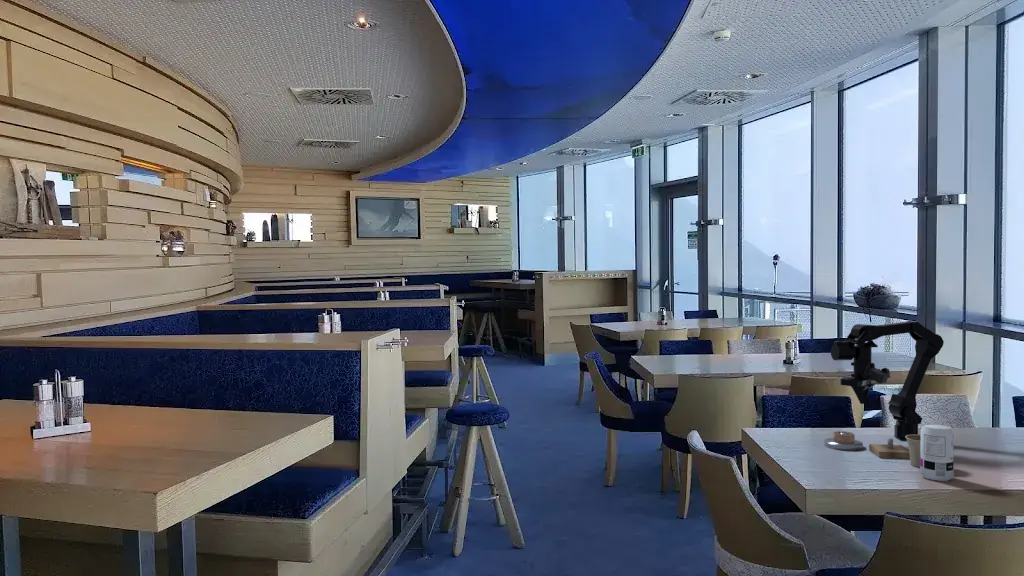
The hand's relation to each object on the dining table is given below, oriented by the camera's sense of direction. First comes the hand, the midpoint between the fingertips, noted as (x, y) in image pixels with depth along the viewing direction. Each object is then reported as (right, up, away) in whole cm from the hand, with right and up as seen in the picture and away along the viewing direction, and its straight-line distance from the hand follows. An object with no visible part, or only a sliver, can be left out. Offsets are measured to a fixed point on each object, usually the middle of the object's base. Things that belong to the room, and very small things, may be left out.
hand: (862, 403), depth 251 cm
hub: (-10, -13, -8) cm, 19 cm away
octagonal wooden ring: (-10, -12, -8) cm, 18 cm away
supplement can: (-1, -14, -45) cm, 47 cm away
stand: (0, -14, -19) cm, 23 cm away
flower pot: (+2, -14, -33) cm, 36 cm away
